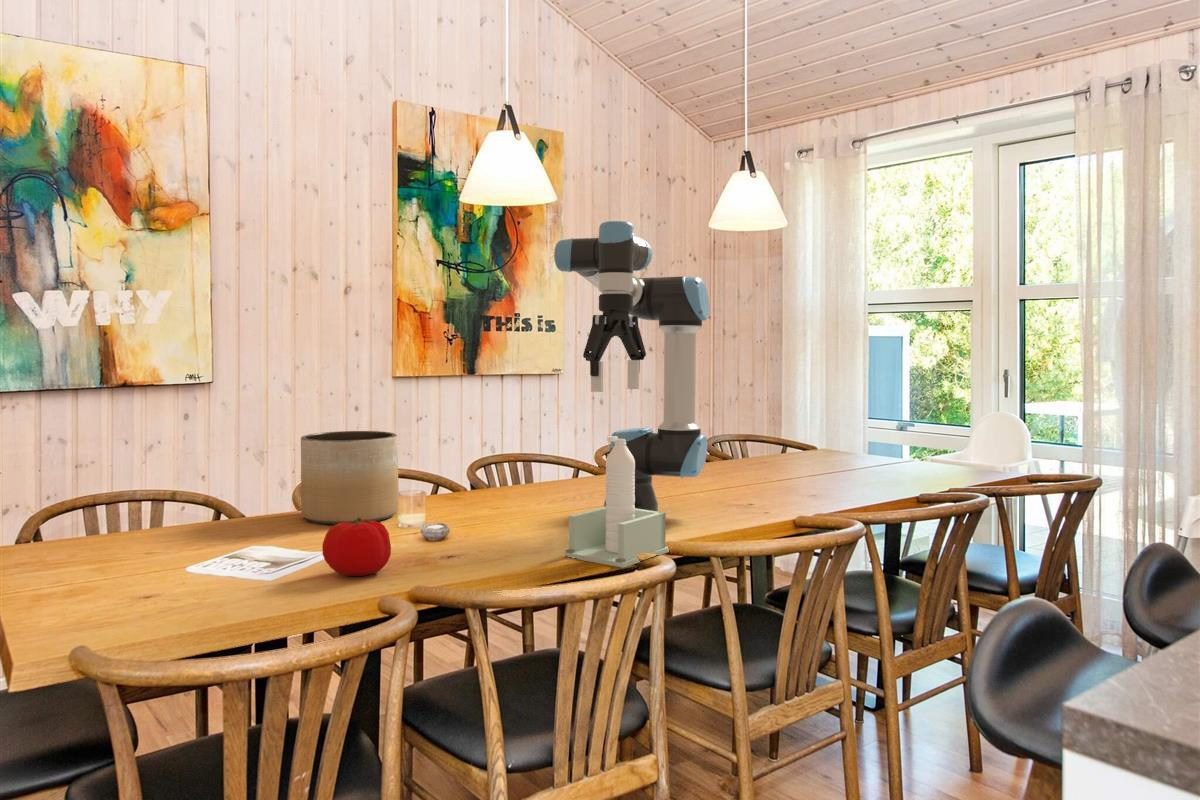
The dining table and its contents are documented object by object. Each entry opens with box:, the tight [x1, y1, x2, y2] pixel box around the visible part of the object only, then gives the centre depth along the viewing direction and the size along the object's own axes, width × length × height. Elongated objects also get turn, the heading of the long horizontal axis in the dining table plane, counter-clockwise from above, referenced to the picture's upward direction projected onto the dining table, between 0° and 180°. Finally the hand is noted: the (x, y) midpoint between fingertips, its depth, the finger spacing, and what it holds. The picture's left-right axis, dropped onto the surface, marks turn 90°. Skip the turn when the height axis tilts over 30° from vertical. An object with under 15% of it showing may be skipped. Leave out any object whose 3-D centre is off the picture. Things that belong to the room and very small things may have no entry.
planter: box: [300, 430, 400, 525], centre depth 237 cm, size 25×25×22 cm
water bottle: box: [605, 435, 635, 553], centre depth 195 cm, size 9×6×25 cm
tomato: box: [321, 518, 392, 577], centre depth 178 cm, size 12×13×12 cm
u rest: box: [563, 506, 669, 569], centre depth 196 cm, size 18×16×9 cm
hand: (615, 390), depth 194 cm, fingers open, 13 cm apart
